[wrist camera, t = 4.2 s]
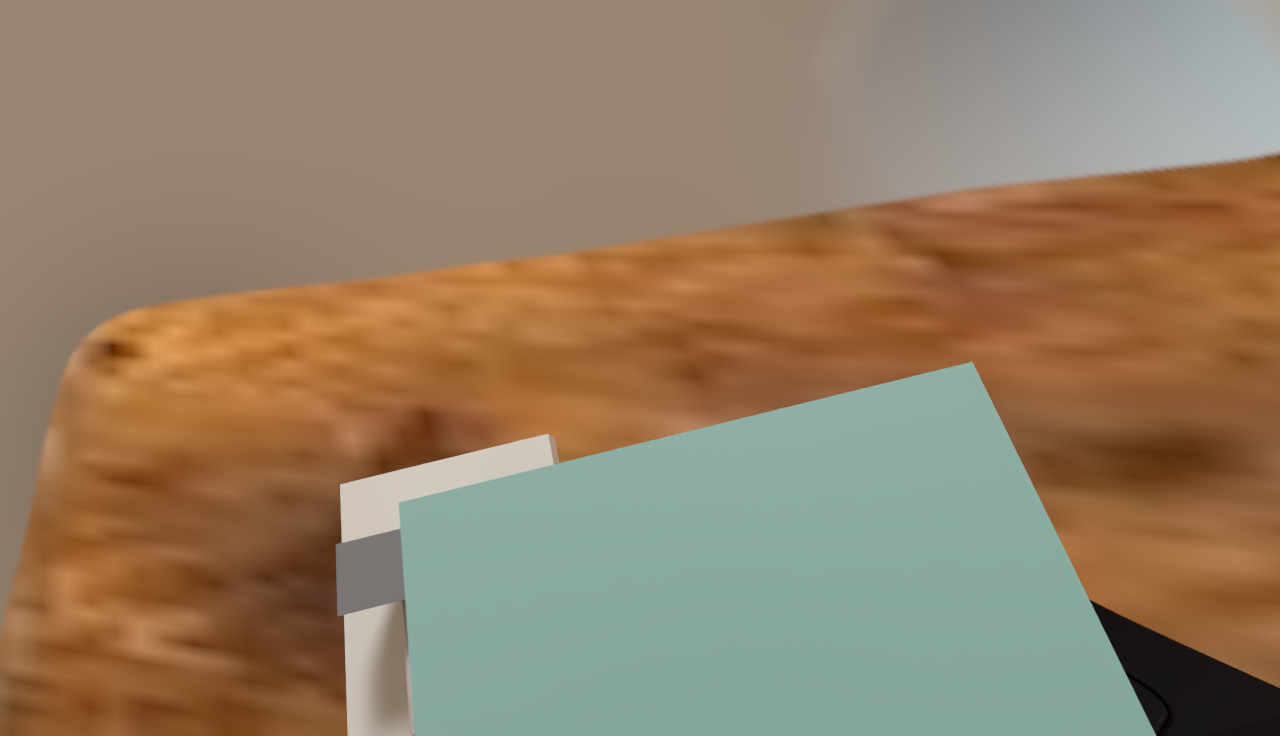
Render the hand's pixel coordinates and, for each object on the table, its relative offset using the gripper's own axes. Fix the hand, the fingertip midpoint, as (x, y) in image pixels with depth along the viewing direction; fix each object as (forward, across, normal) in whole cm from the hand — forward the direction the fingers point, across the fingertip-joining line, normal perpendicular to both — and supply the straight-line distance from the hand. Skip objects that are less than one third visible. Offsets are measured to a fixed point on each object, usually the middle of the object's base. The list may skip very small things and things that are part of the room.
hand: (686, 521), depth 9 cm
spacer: (+4, 0, +6) cm, 7 cm away
